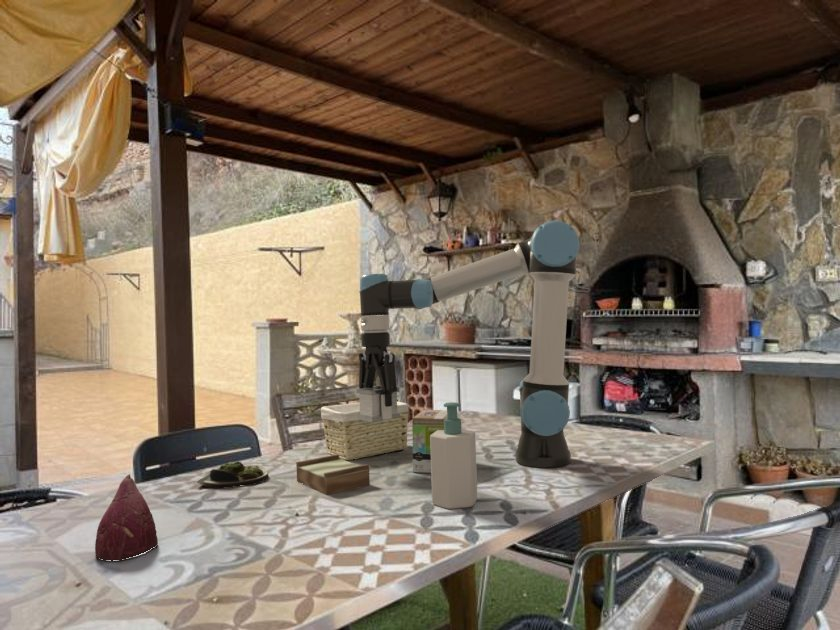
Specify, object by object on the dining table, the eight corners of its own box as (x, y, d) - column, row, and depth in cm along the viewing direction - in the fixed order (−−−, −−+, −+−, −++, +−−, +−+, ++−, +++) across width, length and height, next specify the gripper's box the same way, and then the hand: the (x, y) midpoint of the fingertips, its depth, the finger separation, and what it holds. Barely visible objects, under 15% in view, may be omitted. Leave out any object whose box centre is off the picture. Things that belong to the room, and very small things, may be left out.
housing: (400, 417, 161) (398, 385, 161) (372, 422, 155) (370, 388, 155) (385, 415, 166) (383, 383, 166) (357, 419, 161) (356, 386, 161)
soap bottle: (471, 494, 139) (468, 399, 139) (483, 506, 130) (480, 404, 130) (427, 498, 137) (424, 402, 137) (437, 511, 128) (434, 407, 128)
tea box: (449, 474, 158) (447, 417, 158) (412, 473, 160) (410, 417, 160) (457, 460, 172) (455, 408, 172) (423, 459, 174) (421, 408, 174)
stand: (369, 484, 149) (369, 464, 149) (326, 494, 142) (326, 473, 142) (337, 472, 162) (337, 454, 162) (296, 481, 155) (296, 462, 155)
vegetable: (111, 559, 115) (107, 480, 119) (166, 549, 116) (160, 470, 120) (84, 568, 105) (80, 481, 109) (144, 556, 106) (138, 470, 109)
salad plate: (197, 474, 167) (196, 457, 167) (263, 467, 173) (262, 451, 173) (196, 493, 148) (195, 474, 149) (270, 484, 155) (269, 466, 155)
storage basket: (343, 463, 174) (342, 412, 174) (319, 453, 187) (318, 406, 187) (412, 450, 187) (410, 403, 187) (385, 442, 200) (384, 398, 200)
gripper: (343, 332, 166) (346, 415, 166) (385, 332, 151) (388, 423, 151) (366, 331, 171) (369, 411, 171) (409, 330, 155) (412, 419, 155)
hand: (378, 417), depth 161 cm, fingers closed on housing, 7 cm apart
